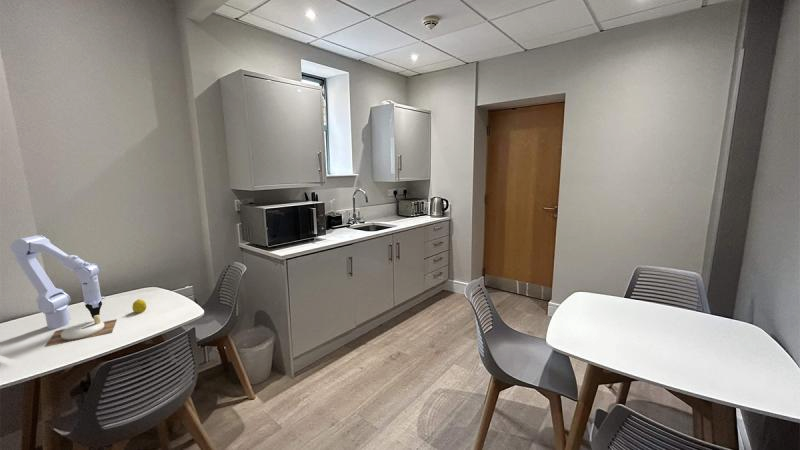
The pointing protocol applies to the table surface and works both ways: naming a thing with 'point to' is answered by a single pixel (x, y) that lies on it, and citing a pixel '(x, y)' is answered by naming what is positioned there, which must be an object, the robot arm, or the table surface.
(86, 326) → the dial
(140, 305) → the lemon
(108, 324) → the brown flat wooden board
